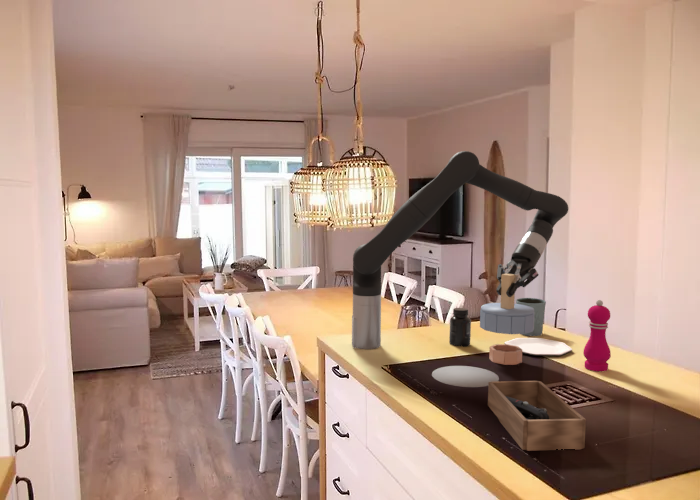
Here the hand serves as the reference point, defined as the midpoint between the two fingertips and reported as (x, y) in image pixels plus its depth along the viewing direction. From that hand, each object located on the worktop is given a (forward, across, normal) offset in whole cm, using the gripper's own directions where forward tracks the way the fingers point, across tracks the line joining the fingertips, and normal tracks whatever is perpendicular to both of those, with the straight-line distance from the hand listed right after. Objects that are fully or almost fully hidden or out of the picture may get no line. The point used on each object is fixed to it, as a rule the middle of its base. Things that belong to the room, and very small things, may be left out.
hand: (503, 294), depth 170 cm
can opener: (+39, +30, -9) cm, 49 cm away
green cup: (-11, -16, +41) cm, 45 cm away
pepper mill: (+3, +20, +27) cm, 34 cm away
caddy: (+38, +33, -9) cm, 51 cm away
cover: (+6, 0, +9) cm, 11 cm away
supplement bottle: (+11, -21, +18) cm, 30 cm away
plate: (0, -2, +30) cm, 30 cm away
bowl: (+13, 0, +16) cm, 21 cm away
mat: (+28, +2, +1) cm, 28 cm away
